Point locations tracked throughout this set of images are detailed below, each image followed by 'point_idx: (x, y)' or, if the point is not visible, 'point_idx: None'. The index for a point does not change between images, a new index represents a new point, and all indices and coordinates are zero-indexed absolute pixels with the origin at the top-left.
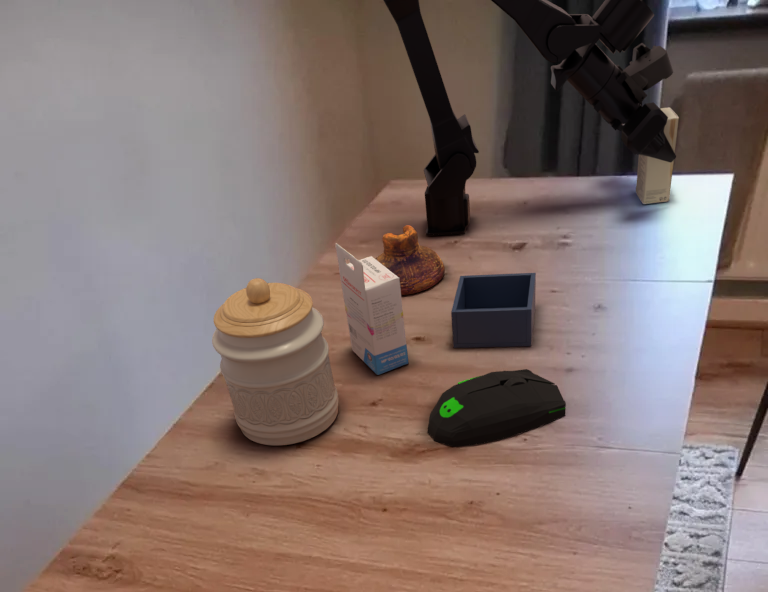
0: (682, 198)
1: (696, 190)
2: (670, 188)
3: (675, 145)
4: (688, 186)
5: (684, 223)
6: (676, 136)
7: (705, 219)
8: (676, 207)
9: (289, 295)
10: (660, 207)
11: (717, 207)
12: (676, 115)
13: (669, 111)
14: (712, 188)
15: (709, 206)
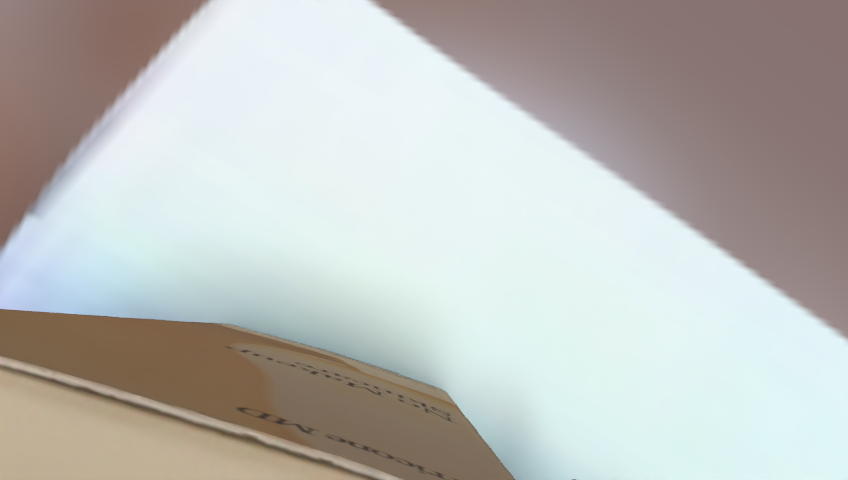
0: (434, 292)
1: (375, 165)
2: (453, 401)
3: (489, 448)
4: (293, 169)
5: (761, 471)
6: (507, 471)
7: (767, 343)
8: (534, 391)
9: None
10: None
11: (654, 203)
12: (346, 469)
13: (18, 474)
14: (402, 80)
15: (620, 231)
